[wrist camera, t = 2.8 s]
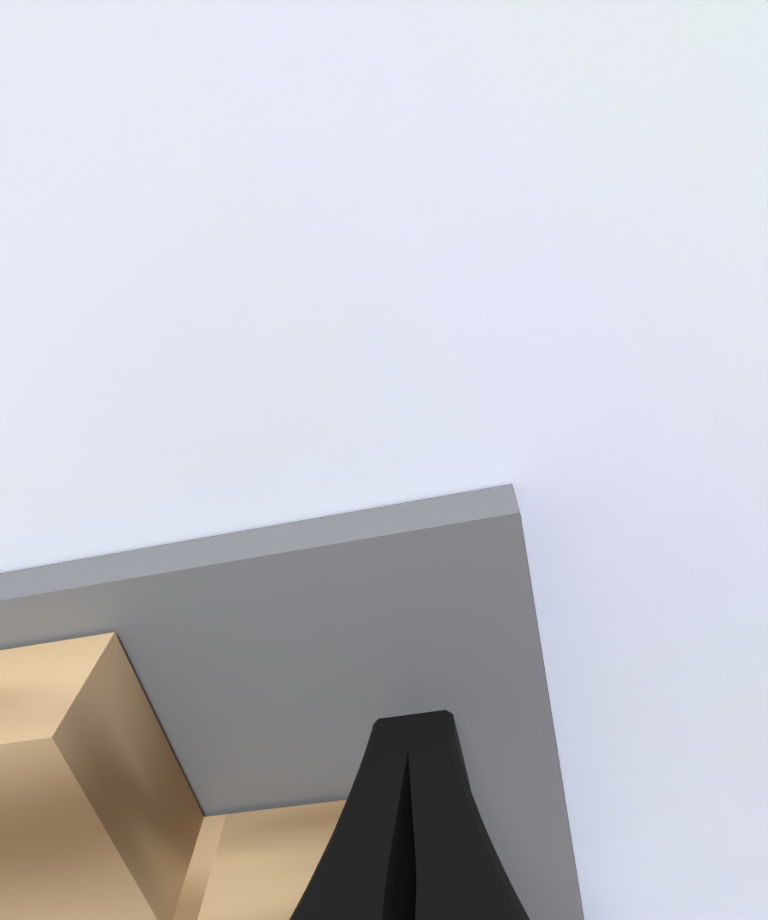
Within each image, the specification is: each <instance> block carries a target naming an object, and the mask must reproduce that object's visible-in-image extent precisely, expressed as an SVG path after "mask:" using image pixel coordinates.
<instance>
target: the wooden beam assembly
mask: <svg viewBox="0 0 768 920" xmlns="http://www.w3.org/2000/svg"><path fill="white" fill-rule="evenodd" d="M346 801H347V800H341V801H333V802H324V803H316V804H308V805H299V806H291V807H283V808H274V809H266V810H258V811H249V812H241V813H232V814H224V815H216V816H207V817H204V816H203V814H202V812H201V810H200V808H199V806H198V803H197V801H196V799H195V797H194V795H193V793H192V791H191V789H190V787H189V785H188V783H187V781H186V779H185V777H184V774H183V772H182V770H181V768H180V766H179V764H178V762H177V760H176V758H175V756H174V754H173V752H172V750H171V748H170V746H169V743H168V741H167V739H166V737H165V735H164V733H163V731H162V729H161V727H160V725H159V723H158V721H157V719H156V717H155V715H154V712H153V710H152V708H151V706H150V704H149V702H148V700H147V698H146V696H145V694H144V692H143V690H142V688H141V686H140V684H139V681H138V679H137V677H136V675H135V673H134V671H133V669H132V667H131V665H130V663H129V661H128V659H127V657H126V655H125V653H124V650H123V648H122V646H121V644H120V642H119V640H118V638H117V636H116V634H115V632H113V633H106V634H100V635H94V636H87V637H81V638H75V639H69V640H62V641H56V642H50V643H43V644H37V645H31V646H25V647H18V648H12V649H6V650H0V920H289V919H290V917H291V916H292V914H293V912H294V910H295V908H296V906H297V905H298V903H299V901H300V899H301V897H302V895H303V893H304V891H305V889H306V888H307V886H308V884H309V882H310V880H311V878H312V875H313V873H314V871H315V869H316V867H317V865H318V863H319V861H320V859H321V857H322V855H323V853H324V851H325V849H326V846H327V844H328V842H329V840H330V838H331V836H332V834H333V831H334V829H335V827H336V824H337V822H338V820H339V817H340V815H341V812H342V810H343V808H344V805H345V803H346Z"/></svg>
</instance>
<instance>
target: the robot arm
mask: <svg viewBox="0 0 768 920" xmlns="http://www.w3.org/2000/svg"><path fill="white" fill-rule="evenodd" d="M289 920H530V919H529V917H528V915H527V913H526V911H525V909H524V907H523V906H522V904H521V902H520V900H519V898H518V896H517V894H516V892H515V890H514V888H513V886H512V884H511V882H510V880H509V878H508V876H507V874H506V872H505V870H504V868H503V866H502V863H501V861H500V859H499V857H498V855H497V853H496V850H495V848H494V846H493V844H492V842H491V840H490V837H489V835H488V833H487V830H486V828H485V826H484V823H483V821H482V818H481V816H480V813H479V810H478V808H477V805H476V803H475V800H474V798H473V795H472V793H471V789H470V783H469V779H468V775H467V771H466V766H465V762H464V758H463V754H462V749H461V745H460V741H459V737H458V733H457V728H456V724H455V720H454V716H453V714H452V713H451V712H449V711H447V710H440V711H432V712H425V713H417V714H410V715H402V716H395V717H387V718H380V719H378V720H377V721H376V722H375V723H374V724H373V727H372V731H371V734H370V738H369V741H368V744H367V747H366V750H365V753H364V756H363V759H362V762H361V764H360V767H359V770H358V773H357V775H356V778H355V780H354V783H353V786H352V788H351V791H350V793H349V796H348V798H347V801H346V803H345V805H344V808H343V810H342V812H341V815H340V817H339V820H338V822H337V824H336V827H335V829H334V831H333V834H332V836H331V838H330V840H329V842H328V844H327V846H326V849H325V851H324V853H323V855H322V857H321V859H320V861H319V863H318V865H317V867H316V869H315V871H314V873H313V875H312V878H311V880H310V882H309V884H308V886H307V888H306V889H305V891H304V893H303V895H302V897H301V899H300V901H299V903H298V905H297V906H296V908H295V910H294V912H293V914H292V916H291V917H290V919H289Z"/></svg>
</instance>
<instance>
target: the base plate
mask: <svg viewBox="0 0 768 920" xmlns="http://www.w3.org/2000/svg"><path fill="white" fill-rule="evenodd" d="M113 632H115V634H116V636H117V638H118V640H119V642H120V644H121V646H122V648H123V650H124V653H125V655H126V657H127V659H128V661H129V663H130V665H131V667H132V669H133V671H134V673H135V675H136V677H137V679H138V681H139V684H140V686H141V688H142V690H143V692H144V694H145V696H146V698H147V700H148V702H149V704H150V706H151V708H152V710H153V712H154V715H155V717H156V719H157V721H158V723H159V725H160V727H161V729H162V731H163V733H164V735H165V737H166V739H167V741H168V743H169V746H170V748H171V750H172V752H173V754H174V756H175V758H176V760H177V762H178V764H179V766H180V768H181V770H182V772H183V774H184V777H185V779H186V781H187V783H188V785H189V787H190V789H191V791H192V793H193V795H194V797H195V799H196V801H197V803H198V806H199V808H200V810H201V812H202V814H203V816H204V817H207V816H216V815H224V814H232V813H241V812H249V811H258V810H266V809H274V808H283V807H291V806H299V805H308V804H316V803H324V802H333V801H341V800H347V798H348V796H349V793H350V791H351V788H352V786H353V783H354V780H355V778H356V775H357V773H358V770H359V767H360V764H361V762H362V759H363V756H364V753H365V750H366V747H367V744H368V741H369V738H370V734H371V731H372V727H373V724H374V723H375V722H376V721H377V720H378V719H380V718H387V717H395V716H402V715H410V714H417V713H425V712H432V711H440V710H447V711H449V712H451V713H452V714H453V716H454V720H455V724H456V728H457V733H458V737H459V741H460V745H461V749H462V754H463V758H464V762H465V766H466V771H467V775H468V779H469V783H470V789H471V793H472V795H473V798H474V800H475V803H476V805H477V808H478V810H479V813H480V816H481V818H482V821H483V823H484V826H485V828H486V830H487V833H488V835H489V837H490V840H491V842H492V844H493V846H494V848H495V850H496V853H497V855H498V857H499V859H500V861H501V863H502V866H503V868H504V870H505V872H506V874H507V876H508V878H509V880H510V882H511V884H512V886H513V888H514V890H515V892H516V894H517V896H518V898H519V900H520V902H521V904H522V906H523V907H524V909H525V911H526V913H527V915H528V917H529V919H530V920H584V915H583V909H582V902H581V896H580V890H579V883H578V877H577V871H576V864H575V858H574V852H573V845H572V839H571V833H570V826H569V820H568V813H567V807H566V801H565V794H564V788H563V782H562V775H561V769H560V763H559V756H558V750H557V744H556V737H555V731H554V725H553V718H552V712H551V706H550V699H549V693H548V687H547V680H546V674H545V667H544V661H543V655H542V648H541V642H540V636H539V629H538V623H537V617H536V610H535V604H534V598H533V591H532V585H531V579H530V572H529V566H528V560H527V553H526V547H525V541H524V534H523V528H522V521H521V515H520V510H519V507H518V503H517V500H516V496H515V493H514V489H513V485H512V484H510V485H504V486H499V487H493V488H487V489H481V490H476V491H470V492H464V493H458V494H453V495H447V496H441V497H436V498H430V499H424V500H418V501H413V502H407V503H401V504H395V505H390V506H384V507H378V508H373V509H367V510H361V511H355V512H350V513H344V514H338V515H332V516H327V517H321V518H315V519H310V520H304V521H298V522H292V523H287V524H281V525H275V526H269V527H264V528H258V529H252V530H247V531H241V532H235V533H229V534H224V535H218V536H212V537H206V538H201V539H195V540H189V541H184V542H178V543H172V544H166V545H161V546H155V547H149V548H143V549H138V550H132V551H126V552H121V553H115V554H109V555H103V556H98V557H92V558H86V559H80V560H75V561H69V562H63V563H58V564H52V565H46V566H40V567H35V568H29V569H23V570H17V571H12V572H6V573H0V650H6V649H12V648H18V647H25V646H31V645H37V644H43V643H50V642H56V641H62V640H69V639H75V638H81V637H87V636H94V635H100V634H106V633H113Z"/></svg>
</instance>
